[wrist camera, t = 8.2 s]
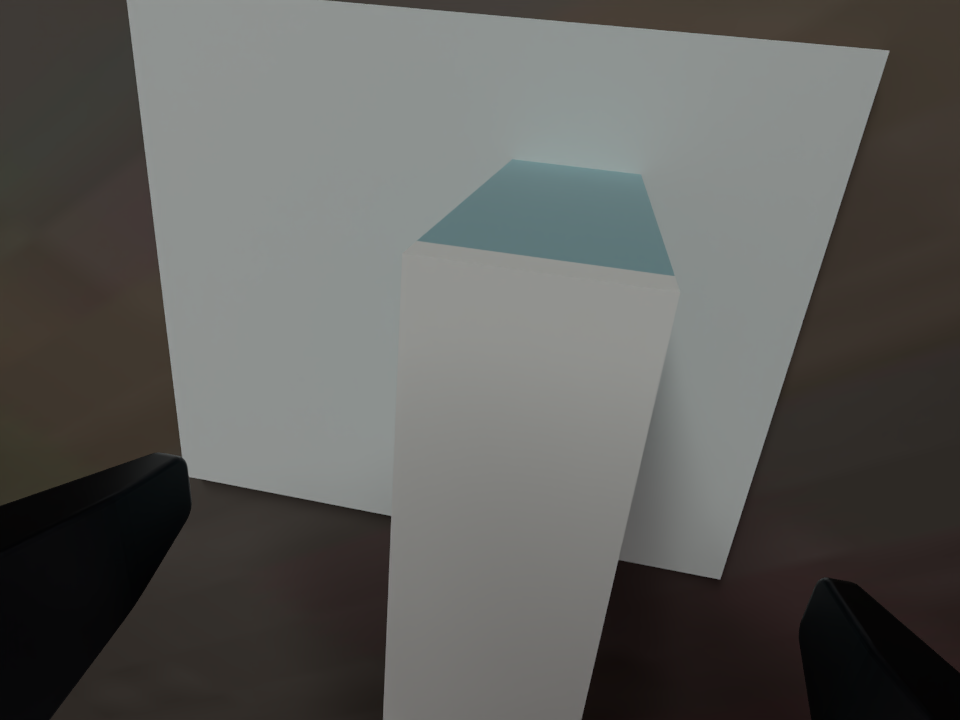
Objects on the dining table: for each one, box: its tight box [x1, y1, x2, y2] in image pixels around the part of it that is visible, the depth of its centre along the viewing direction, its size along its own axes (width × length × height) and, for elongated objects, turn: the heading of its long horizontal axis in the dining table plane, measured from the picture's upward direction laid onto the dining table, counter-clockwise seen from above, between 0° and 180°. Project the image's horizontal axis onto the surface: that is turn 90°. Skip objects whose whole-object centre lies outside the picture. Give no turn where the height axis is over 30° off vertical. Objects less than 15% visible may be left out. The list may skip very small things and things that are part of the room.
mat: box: [127, 0, 889, 579], centre depth 17 cm, size 17×14×1 cm
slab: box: [383, 159, 680, 720], centre depth 13 cm, size 3×8×9 cm, turn 175°
